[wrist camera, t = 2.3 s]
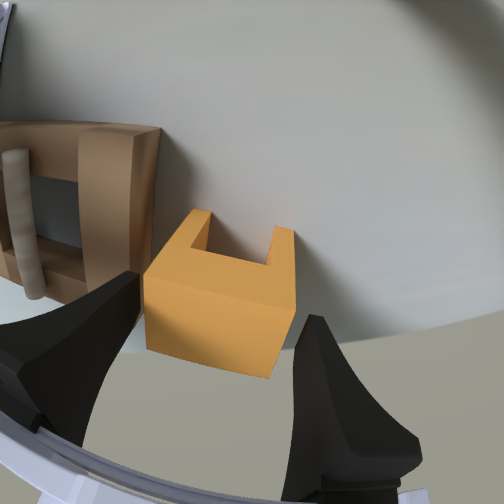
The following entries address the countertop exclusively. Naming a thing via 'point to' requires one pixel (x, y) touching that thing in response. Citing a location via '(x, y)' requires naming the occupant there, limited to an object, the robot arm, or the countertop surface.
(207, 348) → the orange notched block
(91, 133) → the square wooden frame
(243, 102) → the countertop surface
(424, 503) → the robot arm
